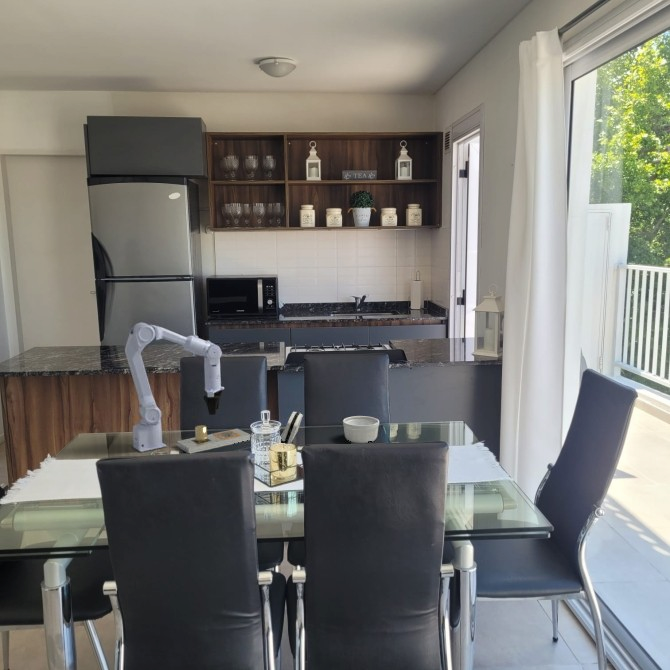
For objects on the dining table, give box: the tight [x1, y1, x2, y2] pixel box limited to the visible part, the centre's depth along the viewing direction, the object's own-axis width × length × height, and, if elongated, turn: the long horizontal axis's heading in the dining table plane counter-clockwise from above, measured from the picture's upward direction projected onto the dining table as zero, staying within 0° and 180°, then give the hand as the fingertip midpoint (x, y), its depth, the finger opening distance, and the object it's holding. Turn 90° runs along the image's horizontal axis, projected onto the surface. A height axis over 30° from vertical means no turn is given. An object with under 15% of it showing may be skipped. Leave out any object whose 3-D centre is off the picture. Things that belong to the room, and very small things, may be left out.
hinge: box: [280, 411, 304, 444], centre depth 217 cm, size 17×5×10 cm, turn 175°
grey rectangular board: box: [176, 428, 252, 454], centre depth 210 cm, size 24×10×2 cm, turn 128°
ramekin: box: [342, 415, 380, 444], centre depth 213 cm, size 13×13×7 cm
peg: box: [194, 424, 208, 444], centre depth 207 cm, size 4×4×7 cm
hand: (213, 411), depth 216 cm, fingers open, 7 cm apart
